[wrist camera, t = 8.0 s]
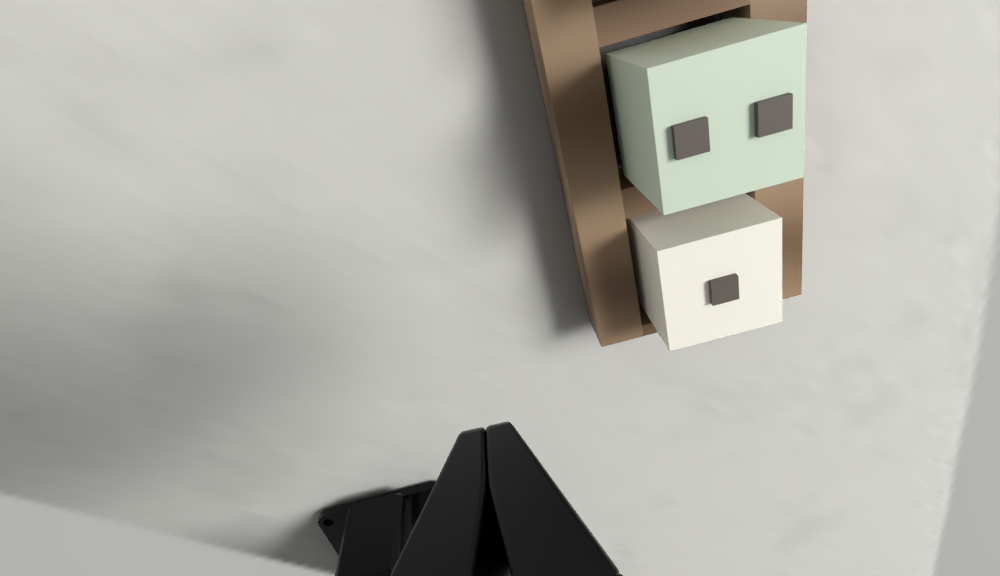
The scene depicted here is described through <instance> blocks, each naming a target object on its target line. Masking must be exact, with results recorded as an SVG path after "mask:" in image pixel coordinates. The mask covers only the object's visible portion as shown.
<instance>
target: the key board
mask: <svg viewBox="0 0 1000 576" xmlns="http://www.w3.org/2000/svg"><path fill="white" fill-rule="evenodd" d="M523 4H524V9H525V14H526V19H527V23H528V28H529V33H530V38H531V42H532V47H533V52H534V57H535V61H536V66H537V71H538V76H539V80H540V85H541V90H542V95H543V99H544V104H545V109H546V114H547V118H548V123H549V128H550V133H551V137H552V142H553V147H554V152H555V157H556V161H557V166H558V171H559V176H560V180H561V185H562V190H563V195H564V199H565V204H566V209H567V214H568V218H569V223H570V228H571V233H572V237H573V242H574V247H575V252H576V256H577V261H578V266H579V271H580V275H581V280H582V285H583V290H584V294H585V299H586V304H587V309H588V313H589V318H590V322H591V324H592V326H593V328H594V331H595V333H596V335H597V337H598V340H599V342H600V344H601V346H602V347H603V346H607V345H611V344H614V343H618V342H622V341H626V340H630V339H633V338H637V337H641V336H645V335H649V334H652V333H656V332H657V330H656V328H655V327H654V325H653V324H652V322H651V320H650V319H649V317H648V316H647V314H646V313H645V311H644V309H643V308H642V306H641V305H640V303H639V301H638V297H637V290H636V284H635V277H634V271H633V264H632V258H631V252H630V245H629V239H628V232H627V226H626V219H629V218H632V217H636V216H640V215H643V214H647V213H651V212H654V211H658V209H657V208H656V207H655V206H654V205H653V204H652V203H651V202H650V201H649V200H648V199H647V198H646V197H645V196H644V195H643V194H642V193H641V192H640V191H639V190H638V189H637V188H636V187H635V186H634V185H633V184H632V183H631V182H630V181H629V180H628V179H627V178H626V177H625V176H624V175H623V169H620V170H618V167H617V161H616V154H615V148H614V142H613V135H612V129H611V122H610V116H609V109H608V103H607V96H606V90H605V83H604V77H603V70H602V64H601V57H600V51H599V48H600V47H603V46H607V45H610V44H614V43H617V42H621V41H624V40H628V39H631V38H635V37H638V36H642V35H645V34H648V33H652V32H655V31H659V30H662V29H666V28H669V27H673V26H676V25H680V24H683V23H686V22H690V21H693V20H697V19H700V18H704V17H707V16H711V15H714V14H718V13H721V20H723V19H727V18H730V17H735V18H749V19H762V20H775V21H789V22H802V23H806V20H807V0H599V1H596V2H592V0H523ZM803 178H804V177H803ZM803 178H799V179H795V180H792V181H788V182H784V183H781V184H777V185H773V186H770V187H766V188H762V189H759V190H755V191H751V192H748V193H746V194H747V195H749V196H750V197H752V198H753V199H755V200H756V201H758V202H759V203H761V204H762V205H764V206H765V207H767V208H768V209H770V210H771V211H773V212H774V213H776V214H777V215H779V216H780V217H782V299H785V298H789V297H793V296H797V295H800V294H801V284H802V231H803Z"/></svg>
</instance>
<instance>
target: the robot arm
mask: <svg viewBox="0 0 1000 576" xmlns="http://www.w3.org/2000/svg"><path fill="white" fill-rule="evenodd" d="M318 524H319V526H320V527H321V529H322V531H323V532H324V534H325V535H326V537H327V538H328V540H329V541H330V543H331V544H332V546H333V547H334V549H335V551H336V552H337V554H338V555H339V558H338V563H337V568H336V573H335V576H623V575H622V574H619V571H618V569H617V567H616V566H615V565H614V563H613V562H612V560H611V559H610V558H609V556H608V555H607V554H606V552H605V551H604V549H603V548H602V547H601V545H600V544H599V543H598V541H597V540H596V539H595V537H594V536H593V534H592V533H591V532H590V530H589V529H588V528H587V526H586V525H585V523H584V522H583V521H582V519H581V518H580V517H579V515H578V514H577V513H576V511H575V510H574V508H573V507H572V506H571V504H570V503H569V502H568V500H567V499H566V497H565V496H564V495H563V493H562V492H561V491H560V489H559V488H558V486H557V485H556V484H555V482H554V481H553V480H552V478H551V477H550V476H549V474H548V473H547V471H546V470H545V469H544V467H543V466H542V465H541V463H540V462H539V460H538V459H537V458H536V456H535V455H534V454H533V452H532V451H531V449H530V448H529V447H528V445H527V444H526V443H525V441H524V440H523V439H522V437H521V436H520V434H519V433H518V432H517V430H516V429H515V428H514V426H513V425H512V424H511V423H510V422H503V423H499V424H494V425H490V426H488V427H487V429H486V430H485V429H484V428H476V429H471V430H467V431H463V432H461V433H460V434H459V436H458V438H457V440H456V442H455V444H454V446H453V448H452V450H451V452H450V454H449V456H448V458H447V460H446V462H445V465H444V467H443V469H442V471H441V473H440V475H439V477H438V479H437V481H436V482H431V483H427V484H423V485H419V486H416V487H412V488H408V489H404V490H400V491H396V492H392V493H388V494H384V495H380V496H376V497H373V498H369V499H365V500H361V501H357V502H353V503H349V504H345V505H341V506H337V507H333V508H329V509H326V510H323V511H322V512H321V513H320V517H319V521H318Z"/></svg>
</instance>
